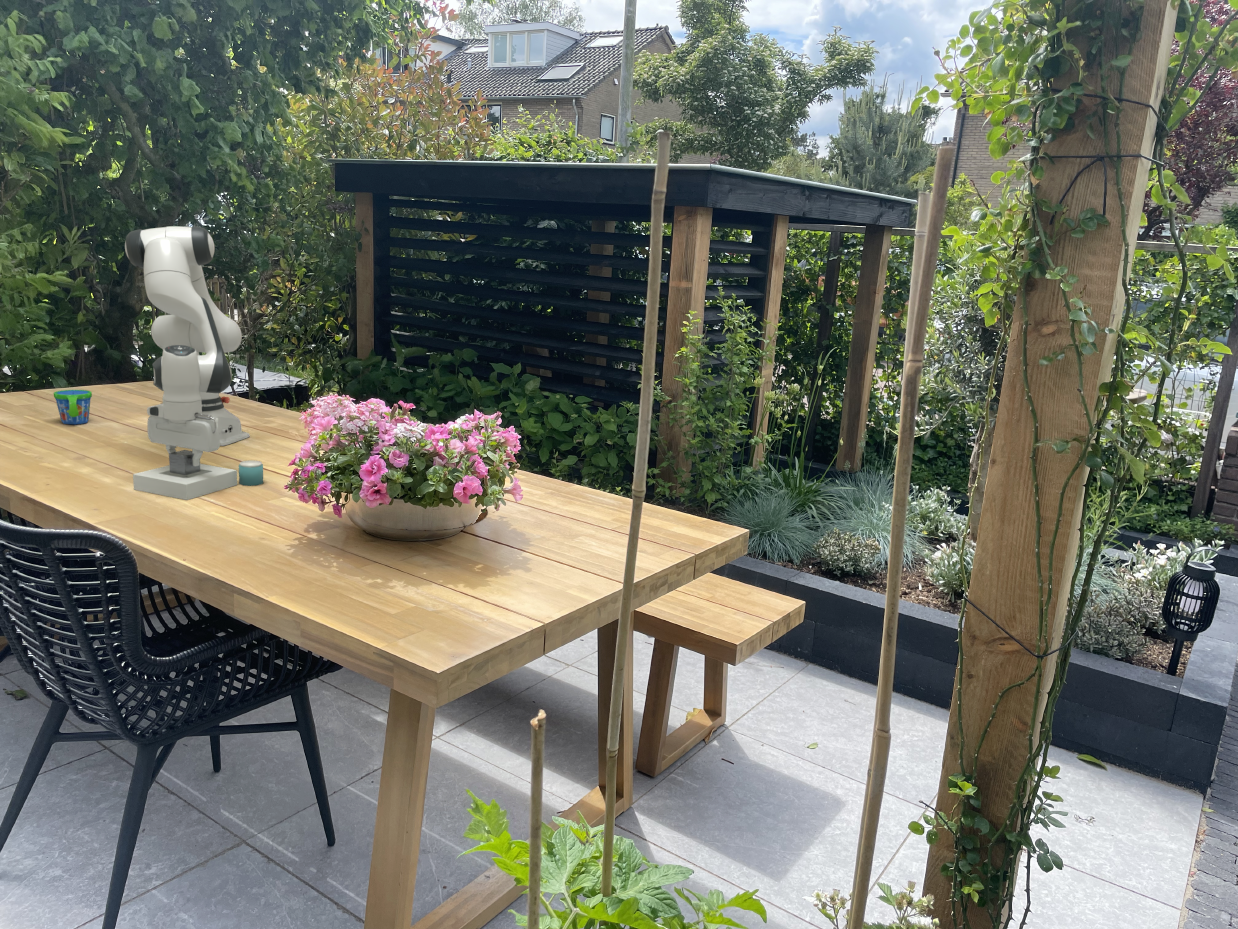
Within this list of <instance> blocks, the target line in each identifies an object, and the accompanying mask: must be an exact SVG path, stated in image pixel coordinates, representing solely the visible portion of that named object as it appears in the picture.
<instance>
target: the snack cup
mask: <svg viewBox="0 0 1238 929" xmlns="http://www.w3.org/2000/svg"><path fill="white" fill-rule="evenodd" d="M53 397H54V399H55V401H56V406H57V410H58V413H59V414H58V415H59V418H60V420H61V423H63V425H81V424H83V425H84V424H87V423H88V422H89V419H90V412H91V410H90V409H91V399H92V397H93V392H92V391H90V390H86V389H65V390H62V389H61V390H57V391H54V392H53Z"/></svg>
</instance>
